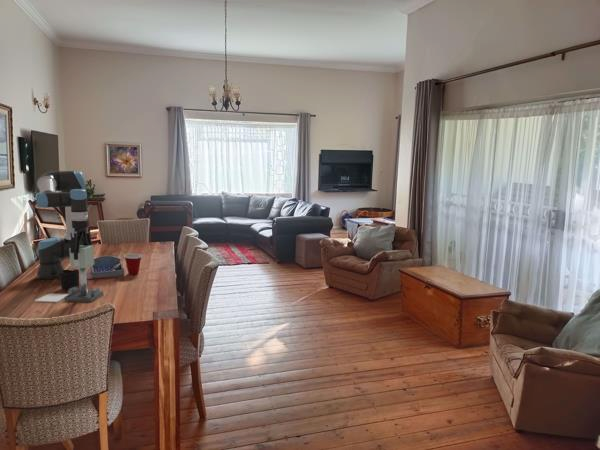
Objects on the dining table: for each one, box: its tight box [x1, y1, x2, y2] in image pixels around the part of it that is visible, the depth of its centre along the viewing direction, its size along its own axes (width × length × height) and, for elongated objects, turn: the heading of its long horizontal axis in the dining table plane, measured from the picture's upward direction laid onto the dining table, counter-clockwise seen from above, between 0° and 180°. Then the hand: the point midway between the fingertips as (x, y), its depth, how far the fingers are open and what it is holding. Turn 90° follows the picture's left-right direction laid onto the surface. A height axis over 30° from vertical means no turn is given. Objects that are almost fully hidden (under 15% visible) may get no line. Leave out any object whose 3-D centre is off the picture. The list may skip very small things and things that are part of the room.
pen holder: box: [59, 268, 80, 291], centre depth 244 cm, size 9×9×10 cm
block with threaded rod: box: [63, 268, 104, 303], centre depth 227 cm, size 14×12×16 cm
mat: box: [34, 293, 68, 304], centre depth 226 cm, size 12×12×1 cm
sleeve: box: [69, 245, 95, 269], centre depth 225 cm, size 8×8×10 cm
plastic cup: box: [123, 253, 143, 276], centre depth 276 cm, size 11×11×12 cm
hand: (82, 263), depth 226 cm, fingers closed on sleeve, 8 cm apart
